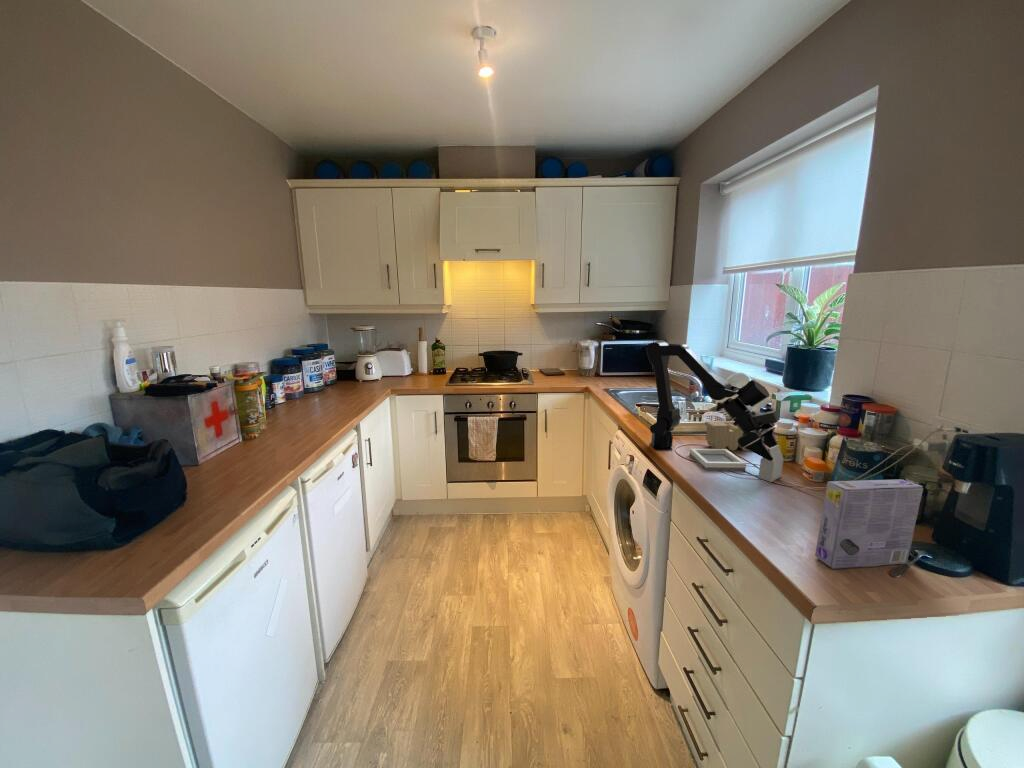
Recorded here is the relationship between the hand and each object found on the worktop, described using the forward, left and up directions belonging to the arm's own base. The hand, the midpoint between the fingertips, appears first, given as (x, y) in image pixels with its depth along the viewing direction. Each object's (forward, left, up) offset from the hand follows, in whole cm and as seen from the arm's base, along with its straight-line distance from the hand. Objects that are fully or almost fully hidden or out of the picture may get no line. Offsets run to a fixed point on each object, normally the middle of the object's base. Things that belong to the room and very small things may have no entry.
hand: (775, 456), depth 126 cm
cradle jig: (-12, +12, -7) cm, 18 cm away
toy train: (-1, +26, -7) cm, 27 cm away
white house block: (-1, +1, -7) cm, 7 cm away
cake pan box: (-6, -41, -7) cm, 42 cm away
